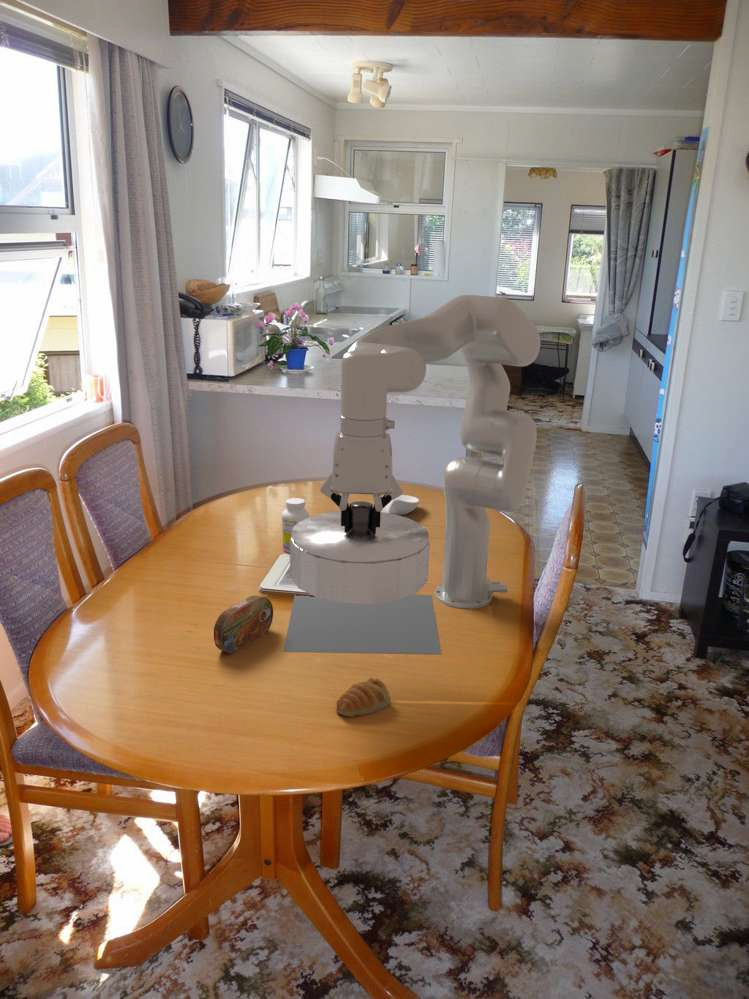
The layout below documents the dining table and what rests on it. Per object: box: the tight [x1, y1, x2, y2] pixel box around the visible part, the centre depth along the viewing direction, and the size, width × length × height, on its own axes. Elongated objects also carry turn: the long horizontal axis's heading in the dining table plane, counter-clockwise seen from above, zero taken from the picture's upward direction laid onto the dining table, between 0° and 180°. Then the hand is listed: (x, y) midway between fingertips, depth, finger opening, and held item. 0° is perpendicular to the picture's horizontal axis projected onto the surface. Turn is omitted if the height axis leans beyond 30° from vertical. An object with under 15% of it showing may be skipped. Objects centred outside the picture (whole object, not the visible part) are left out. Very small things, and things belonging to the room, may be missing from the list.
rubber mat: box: [283, 594, 442, 655], centre depth 167 cm, size 30×26×1 cm
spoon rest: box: [381, 494, 420, 516], centre depth 227 cm, size 24×12×7 cm, turn 164°
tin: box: [213, 595, 274, 655], centre depth 157 cm, size 15×3×8 cm, turn 148°
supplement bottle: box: [281, 497, 310, 554], centre depth 202 cm, size 7×7×13 cm
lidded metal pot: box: [289, 500, 431, 604], centre depth 141 cm, size 24×24×13 cm
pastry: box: [335, 677, 392, 718], centre depth 138 cm, size 9×7×4 cm
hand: (360, 529), depth 140 cm, fingers closed on lidded metal pot, 4 cm apart
